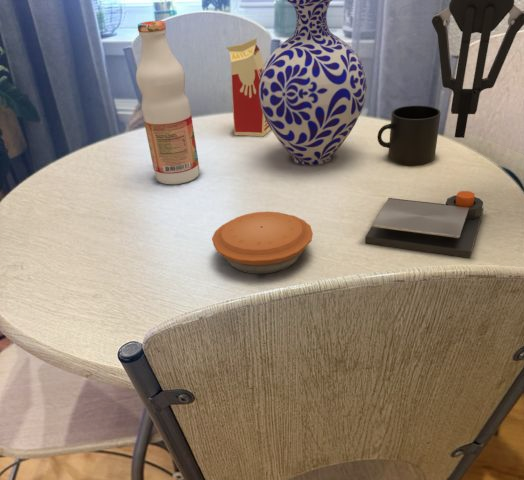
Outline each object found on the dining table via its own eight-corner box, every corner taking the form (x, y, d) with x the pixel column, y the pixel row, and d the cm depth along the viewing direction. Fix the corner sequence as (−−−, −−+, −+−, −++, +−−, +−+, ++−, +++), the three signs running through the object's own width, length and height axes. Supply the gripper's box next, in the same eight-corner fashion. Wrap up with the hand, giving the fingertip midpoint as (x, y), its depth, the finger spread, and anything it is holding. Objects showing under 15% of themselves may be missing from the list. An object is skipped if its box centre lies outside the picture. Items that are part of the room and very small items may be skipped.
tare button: (474, 201, 88) (476, 191, 87) (471, 209, 86) (473, 198, 85) (456, 200, 89) (458, 190, 88) (453, 207, 87) (455, 197, 86)
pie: (204, 281, 80) (200, 251, 76) (226, 232, 91) (222, 204, 88) (307, 283, 77) (307, 253, 74) (316, 232, 89) (316, 204, 86)
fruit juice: (146, 178, 113) (114, 25, 95) (181, 164, 117) (156, 16, 100) (174, 189, 107) (144, 29, 89) (209, 174, 112) (188, 19, 94)
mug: (373, 151, 115) (376, 107, 110) (429, 148, 114) (435, 103, 109) (378, 167, 108) (381, 121, 102) (438, 164, 107) (445, 118, 101)
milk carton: (274, 124, 135) (270, 33, 122) (265, 136, 128) (259, 42, 115) (240, 123, 137) (232, 34, 124) (229, 135, 130) (219, 43, 117)
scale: (482, 213, 90) (486, 197, 88) (469, 258, 79) (473, 240, 77) (388, 203, 96) (389, 187, 94) (364, 243, 85) (365, 225, 83)
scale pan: (468, 209, 85) (469, 207, 85) (459, 238, 78) (459, 236, 78) (388, 200, 90) (388, 198, 89) (372, 226, 83) (372, 225, 83)
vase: (255, 176, 109) (241, 4, 90) (272, 140, 125) (263, -13, 106) (361, 176, 105) (370, -4, 86) (364, 139, 121) (373, -20, 102)
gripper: (542, -54, 71) (503, 128, 86) (440, -48, 75) (420, 125, 90) (545, -49, 66) (503, 144, 81) (436, -43, 70) (415, 141, 85)
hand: (459, 134), depth 85 cm, fingers closed
